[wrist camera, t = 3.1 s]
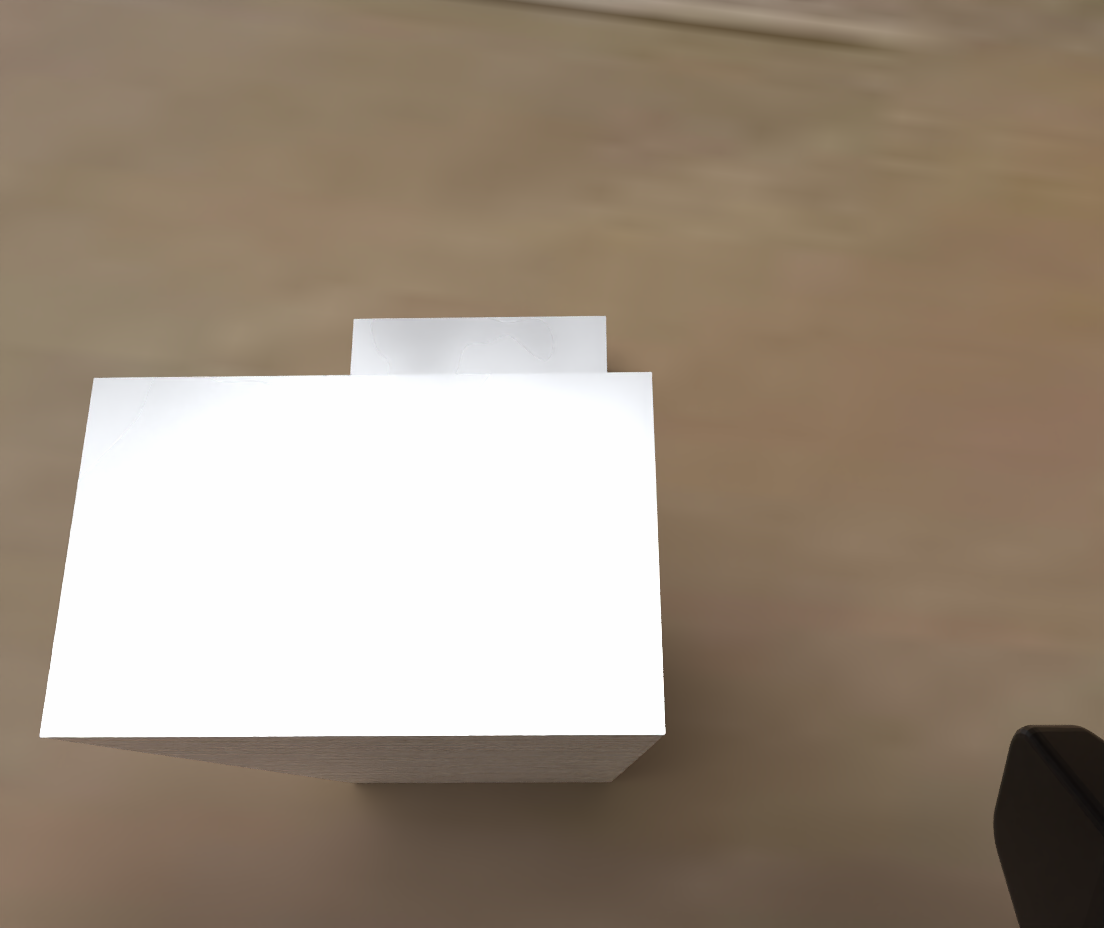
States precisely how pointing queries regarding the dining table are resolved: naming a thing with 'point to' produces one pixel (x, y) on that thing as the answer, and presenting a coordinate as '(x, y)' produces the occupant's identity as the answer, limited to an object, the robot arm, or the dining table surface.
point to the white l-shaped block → (373, 563)
